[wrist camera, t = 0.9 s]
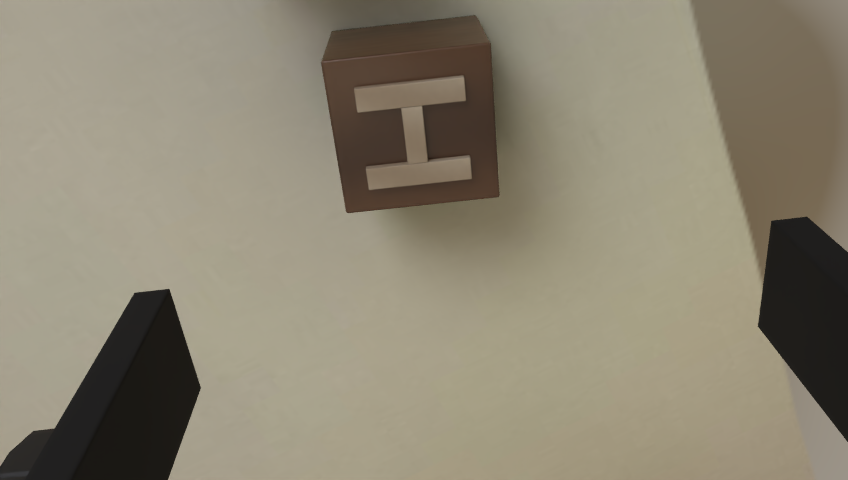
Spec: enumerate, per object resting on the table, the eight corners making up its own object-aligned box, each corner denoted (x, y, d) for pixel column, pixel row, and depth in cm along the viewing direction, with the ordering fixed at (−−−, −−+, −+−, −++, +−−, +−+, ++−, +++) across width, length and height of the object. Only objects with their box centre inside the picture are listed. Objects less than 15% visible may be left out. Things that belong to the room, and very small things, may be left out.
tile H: (331, 30, 28) (319, 63, 23) (476, 14, 27) (492, 44, 23) (352, 166, 30) (345, 217, 26) (485, 151, 30) (500, 201, 26)
